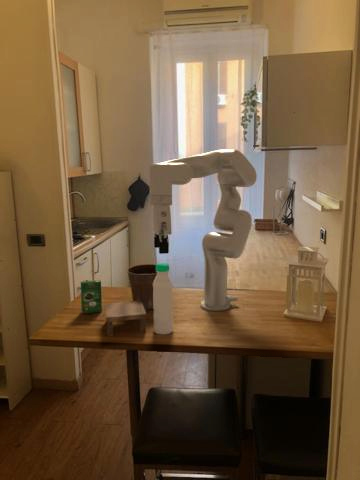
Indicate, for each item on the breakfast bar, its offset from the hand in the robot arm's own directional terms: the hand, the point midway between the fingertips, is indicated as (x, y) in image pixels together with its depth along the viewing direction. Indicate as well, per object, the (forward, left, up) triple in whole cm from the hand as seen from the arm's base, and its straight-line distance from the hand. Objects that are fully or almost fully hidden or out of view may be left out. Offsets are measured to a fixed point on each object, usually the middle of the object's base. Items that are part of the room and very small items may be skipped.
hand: (161, 250), depth 131 cm
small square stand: (+13, -8, -30) cm, 33 cm away
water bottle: (0, 0, -30) cm, 30 cm away
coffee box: (+25, -25, -30) cm, 46 cm away
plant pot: (+2, -27, -30) cm, 41 cm away
